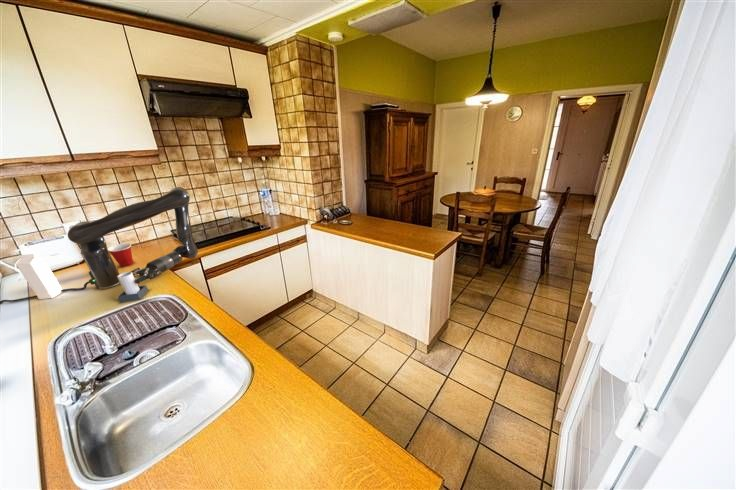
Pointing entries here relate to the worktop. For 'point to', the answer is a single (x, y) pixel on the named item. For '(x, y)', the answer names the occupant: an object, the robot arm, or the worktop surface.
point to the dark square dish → (133, 295)
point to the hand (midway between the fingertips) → (128, 281)
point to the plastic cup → (122, 254)
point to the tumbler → (128, 283)
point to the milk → (39, 276)
